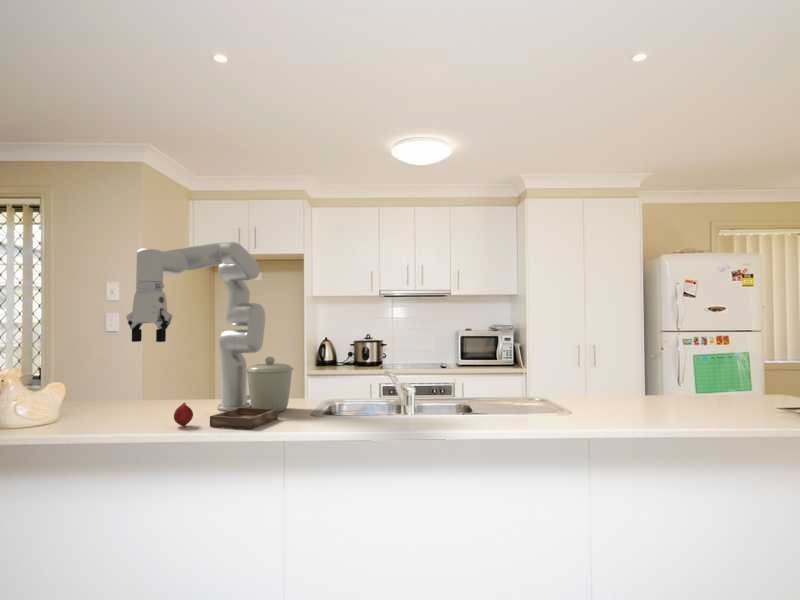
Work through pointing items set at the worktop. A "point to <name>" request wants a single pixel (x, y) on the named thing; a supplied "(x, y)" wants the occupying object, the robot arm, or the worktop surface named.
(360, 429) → the worktop surface
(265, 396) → the canister
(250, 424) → the walnut tray
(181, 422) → the onion
